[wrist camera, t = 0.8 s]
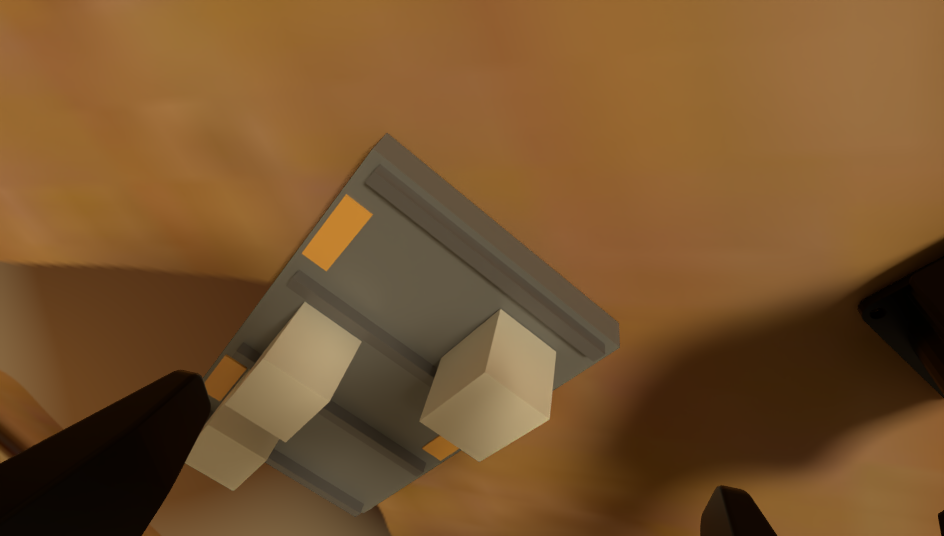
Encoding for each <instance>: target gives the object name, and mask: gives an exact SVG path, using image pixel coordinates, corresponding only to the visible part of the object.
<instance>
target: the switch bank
mask: <svg viewBox="0 0 944 536" xmlns="http://www.w3.org/2000/svg"><path fill="white" fill-rule="evenodd" d="M304 302H306V303H308V304H309V305H310V306H312V307H313V308H315V309H316V310H318V311H319V312H320V313H322V314H323V315H325V316H326V317H328V318H329V319H330V320H332V321H333V322H335V323H336V324H338V325H339V326H340V327H342V328H343V329H345V330H346V331H348V332H349V333H350V334H352V335H353V336H355V337H356V338H358V339H359V340H360V341H362V342H361V344H360V346H359V348H358V350H357V351H356V353H355V355H354V357H353V359H352V361H351V363H350V364H349V366H348V368H347V370H346V372H345V374H344V376H343V377H342V379H341V381H340V383H339V385H338V387H337V389H336V390H335V392H334V394H333V396H332V398H331V400H330V402H329V403H327V404H326V405H325V406H324V407H323V408H322V409H321V410H320V411H319V412H318V413H317V414H316V415H315V416H314V417H312V418H311V419H310V420H309V421H308V422H307V423H306V424H305V425H304V426H303V427H302V428H301V429H300V430H299V431H298V432H296V433H295V434H294V435H293V436H292V437H291V438H290V439H289V440H288V441H287V442H284V441H282V440H281V439H279V440H278V442H277V444H276V445H275V447H274V449H273V450H272V452H271V454H270V456H269V457H268V459H267V460H266V461H265V463H267V464H268V465H270V466H272V467H274V468H275V469H277V470H278V471H280V472H282V473H283V474H285V475H287V476H288V477H290V478H292V479H293V480H295V481H297V482H298V483H300V484H302V485H303V486H305V487H306V488H308V489H310V490H311V491H313V492H315V493H317V494H318V495H320V496H321V497H323V498H325V499H327V500H328V501H330V502H331V503H333V504H335V505H336V506H338V507H340V508H341V509H343V510H344V511H346V512H348V513H349V514H351V515H353V516H354V517H356V516H357V515H359V514H360V513H361V512H362V513H365V512H366V511H368V510H369V509H371V508H372V507H374V506H375V505H377V504H379V503H380V502H382V501H383V500H385V499H386V498H388V497H389V496H391V495H393V494H394V493H396V492H397V491H399V490H400V489H402V488H403V487H405V486H406V485H408V484H410V483H411V482H413V481H414V480H416V479H417V478H419V477H420V476H422V475H423V474H425V473H427V472H428V471H430V470H431V469H433V468H434V467H436V466H437V465H439V464H441V463H442V462H444V461H445V460H447V459H448V458H450V457H451V456H453V455H454V454H456V453H458V452H459V451H461V449H459V448H458V447H456V446H455V445H453V444H452V443H450V442H449V441H447V440H446V439H444V438H443V437H442V436H440V435H439V434H437V433H436V432H434V431H433V430H431V429H430V428H428V427H427V426H425V425H424V424H422V423H421V422H419V421H420V418H421V415H422V412H423V409H424V406H425V403H426V400H427V398H428V395H429V392H430V389H431V386H432V383H433V380H434V377H435V375H436V372H437V369H438V366H439V363H440V360H441V358H442V357H443V356H444V355H445V354H446V353H448V352H449V351H450V350H451V349H453V348H454V347H455V346H456V345H457V344H459V343H460V342H461V341H462V340H463V339H465V338H466V337H467V336H468V335H469V334H471V333H472V332H473V331H474V330H475V329H477V328H478V327H479V326H480V325H481V324H483V323H484V322H485V321H486V320H487V319H489V318H490V317H491V316H492V315H494V314H495V313H496V312H497V311H498V310H500V309H502V310H503V311H504V312H506V313H507V314H508V315H509V316H511V317H512V318H513V319H515V320H516V321H517V322H518V323H520V324H521V325H522V326H524V327H525V328H526V329H528V330H529V331H530V332H531V333H533V334H534V335H535V336H537V337H538V338H539V339H540V340H542V341H543V342H544V343H546V344H547V345H548V346H550V347H551V348H552V349H553V350H555V351H556V360H555V370H554V380H553V390H555V389H556V388H558V387H560V386H561V385H563V384H564V383H566V382H567V381H569V380H570V379H572V378H573V377H575V376H577V375H578V374H580V373H581V372H583V371H584V370H586V369H587V368H589V367H590V366H592V365H594V364H595V363H597V362H598V361H600V360H601V359H603V358H604V357H606V356H607V355H609V354H611V353H612V352H614V351H615V350H617V349H618V348H620V341H619V323H618V322H617V321H616V320H614V319H613V318H612V317H611V316H610V315H608V314H607V313H606V312H605V311H603V310H602V309H601V308H600V307H599V306H597V305H596V304H595V303H594V302H592V301H591V300H590V299H589V298H588V297H586V296H585V295H584V294H583V293H581V292H580V291H579V290H578V289H577V288H575V287H574V286H573V285H572V284H571V283H569V282H568V281H567V280H566V279H564V278H563V277H562V276H561V275H560V274H558V273H557V272H556V271H555V270H553V269H552V268H551V267H550V266H549V265H547V264H546V263H545V262H544V261H542V260H541V259H540V258H539V257H538V256H536V255H535V254H534V253H533V252H532V251H530V250H529V249H528V248H527V247H525V246H524V245H523V244H522V243H521V242H519V241H518V240H517V239H516V238H514V237H513V236H512V235H511V234H510V233H508V232H507V231H506V230H505V229H504V228H502V227H501V226H500V225H499V224H497V223H496V222H495V221H494V220H493V219H491V218H490V217H489V216H488V215H486V214H485V213H484V212H483V211H482V210H480V209H479V208H478V207H477V206H475V205H474V204H473V203H472V202H471V201H469V200H468V199H467V198H466V197H465V196H463V195H462V194H461V193H460V192H458V191H457V190H456V189H455V188H454V187H452V186H451V185H450V184H449V183H447V182H446V181H445V180H444V179H443V178H441V177H440V176H439V175H438V174H436V173H435V172H434V171H433V170H432V169H430V168H429V167H428V166H427V165H426V164H424V163H423V162H422V161H421V160H419V159H418V158H417V157H416V156H415V155H413V154H412V153H411V152H410V151H408V150H407V149H406V148H405V147H404V146H402V145H401V144H400V143H399V142H397V141H396V140H395V139H394V138H393V137H391V136H390V135H389V134H388V133H386V135H385V136H384V137H383V138H382V139H381V140H380V141H379V142H378V143H377V145H376V146H375V147H374V148H373V149H372V150H371V152H370V153H369V154H368V156H367V157H366V158H365V160H364V161H363V163H362V164H361V165H360V167H359V168H358V169H357V171H356V172H355V173H354V175H353V176H352V177H351V179H350V180H349V181H348V183H347V184H346V186H345V187H344V188H343V190H342V191H341V192H340V194H339V195H338V196H337V198H336V199H335V200H334V202H333V203H332V204H331V206H330V207H329V209H328V210H327V211H326V213H325V214H324V215H323V217H322V218H321V219H320V221H319V222H318V223H317V225H316V226H315V227H314V229H313V230H312V231H311V233H310V234H309V236H308V237H307V238H306V240H305V241H304V242H303V244H302V245H301V246H300V248H299V249H298V250H297V252H296V253H295V254H294V256H293V257H292V259H291V260H290V261H289V263H288V264H287V265H286V267H285V268H284V269H283V271H282V272H281V273H280V275H279V276H278V277H277V279H276V280H275V282H274V283H273V284H272V286H271V287H270V288H269V290H268V291H267V292H266V294H265V295H264V296H263V298H262V299H261V300H260V302H259V303H258V304H257V306H256V307H255V309H254V310H253V311H252V313H251V314H250V315H249V317H248V318H247V319H246V321H245V322H244V323H243V325H242V326H241V328H240V329H239V330H238V332H237V333H236V334H235V336H234V337H233V338H232V340H231V341H230V342H229V344H228V345H227V346H226V348H225V349H224V350H223V352H222V353H221V355H220V356H219V357H218V359H217V360H216V361H215V363H214V364H213V366H212V367H211V368H210V369H209V371H208V372H207V374H206V375H205V376H204V377H203V380H204V383H205V386H206V389H207V392H208V395H209V398H210V401H211V412H210V415H209V417H208V419H207V421H208V420H209V419H210V417H211V416H212V415H213V413H214V412H215V411H216V409H217V408H218V407H219V405H220V404H221V403H222V401H223V400H224V399H225V398H226V397H227V395H228V394H229V393H230V392H231V391H232V389H233V388H234V387H235V386H236V384H237V383H238V382H239V381H240V380H241V378H242V377H243V376H244V375H245V374H246V372H247V371H248V370H249V369H250V370H251V368H252V367H253V366H254V364H255V363H256V362H257V360H258V359H259V358H260V356H261V355H262V354H263V352H264V351H265V349H266V348H267V347H268V346H269V344H270V343H271V342H272V341H273V340H274V338H275V337H276V336H277V335H278V334H279V332H280V331H281V330H282V329H283V327H284V326H285V325H286V324H287V323H288V321H289V320H290V319H291V318H292V317H293V315H294V314H295V313H296V312H297V310H298V309H299V308H300V307H301V306H302V304H303V303H304ZM553 390H552V391H553ZM207 421H206V423H207ZM206 423H205V424H206Z"/></svg>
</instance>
